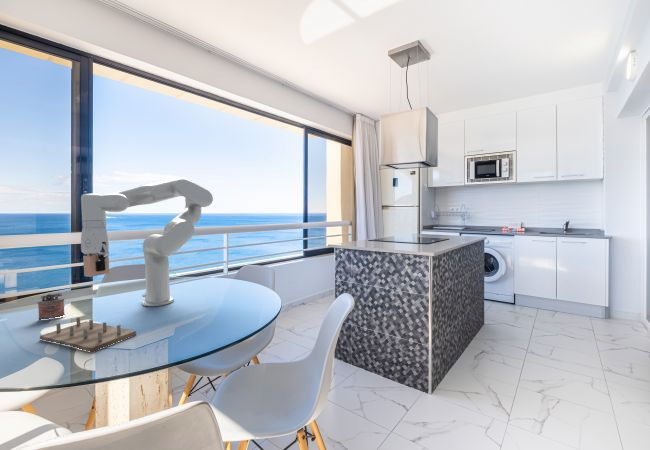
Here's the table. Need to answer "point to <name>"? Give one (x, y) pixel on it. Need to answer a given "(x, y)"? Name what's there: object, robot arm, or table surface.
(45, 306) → the lighter
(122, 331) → the rack
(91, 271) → the salmon pink block
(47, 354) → the table surface
